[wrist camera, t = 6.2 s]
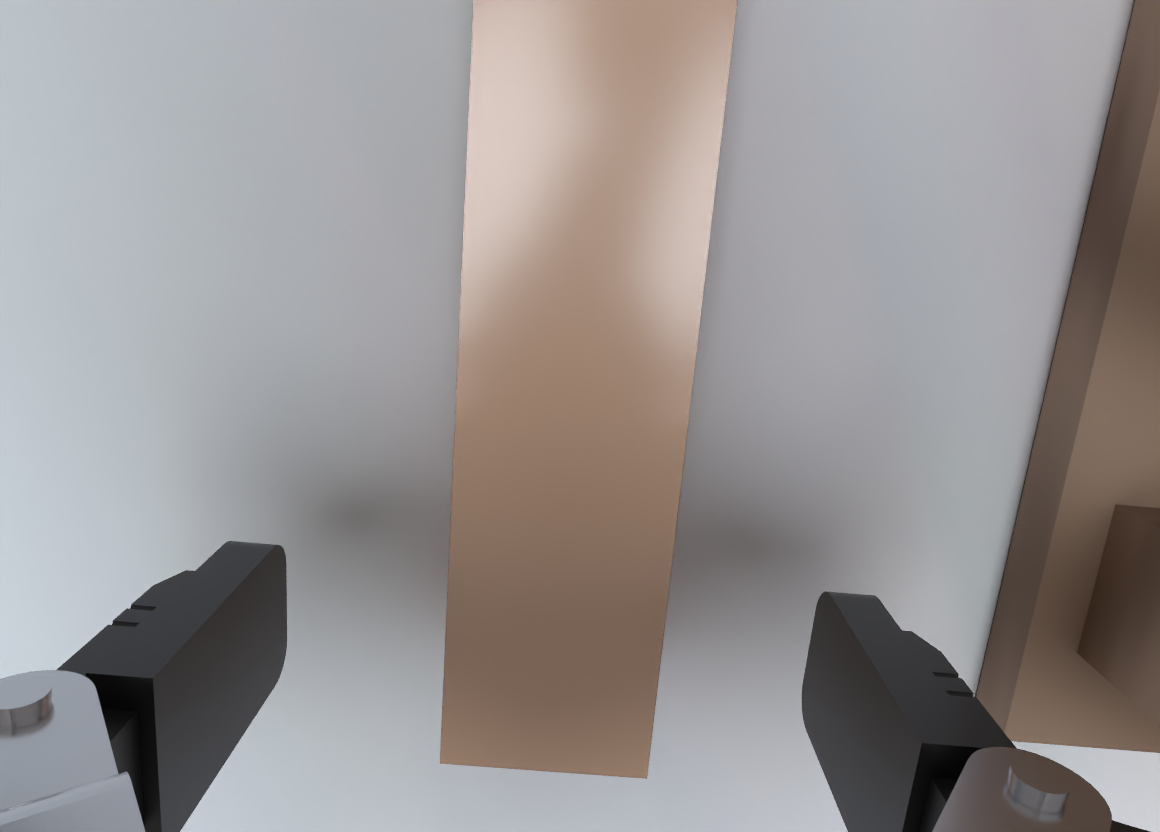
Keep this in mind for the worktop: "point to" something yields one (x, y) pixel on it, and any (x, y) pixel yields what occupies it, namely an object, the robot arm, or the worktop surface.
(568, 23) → the clay strip
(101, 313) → the worktop surface
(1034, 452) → the pegged brown baseplate
